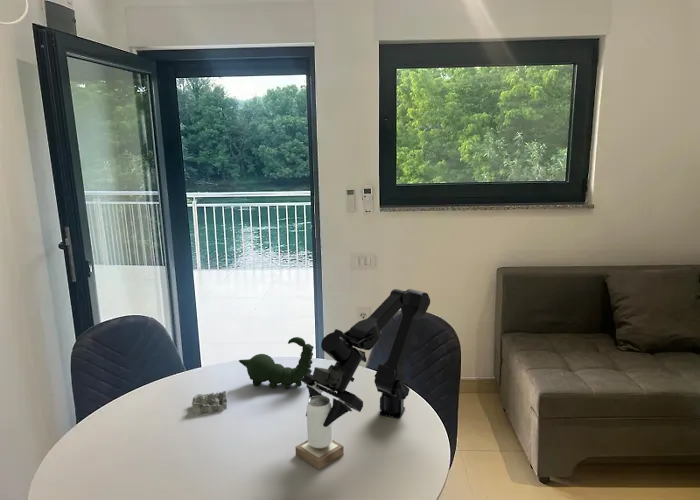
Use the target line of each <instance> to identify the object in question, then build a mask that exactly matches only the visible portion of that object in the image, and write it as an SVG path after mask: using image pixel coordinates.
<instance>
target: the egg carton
mask: <svg viewBox="0 0 700 500" xmlns="http://www.w3.org/2000/svg"><path fill="white" fill-rule="evenodd" d="M227 397H228V396H227V391H226V390H224V391H222V392H215V393H214V392H211V393H207V394H196V395H195V396H193V397H192V402H191V406H192V413H193V414H196V415H201V414H202V413H208V414H212V413H213V412H215V411H219V412H224V410H227V409H228V406H227V404H228V400H227ZM220 402H222V404H221V405H220ZM209 403H210V404H211V405H210V404H209Z"/></svg>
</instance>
